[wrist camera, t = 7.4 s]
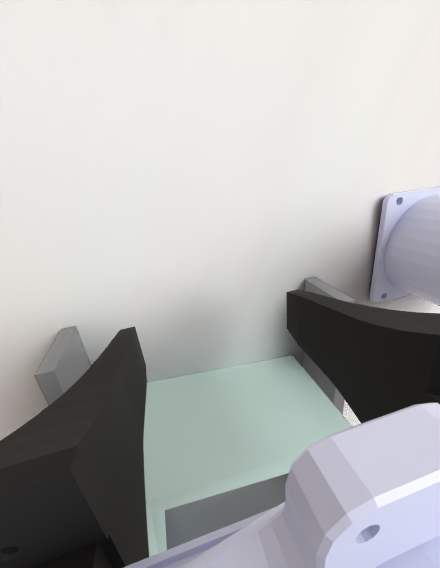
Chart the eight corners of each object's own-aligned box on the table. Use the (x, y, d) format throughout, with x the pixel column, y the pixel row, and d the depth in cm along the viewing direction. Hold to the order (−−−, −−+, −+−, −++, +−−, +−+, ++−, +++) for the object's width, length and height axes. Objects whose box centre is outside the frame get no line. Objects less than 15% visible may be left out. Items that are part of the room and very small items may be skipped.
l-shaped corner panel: (153, 492, 22) (156, 627, 16) (134, 383, 18) (127, 506, 11) (280, 457, 25) (329, 558, 18) (291, 354, 21) (362, 438, 14)
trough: (314, 276, 18) (356, 300, 15) (306, 459, 26) (332, 503, 22) (61, 329, 15) (34, 375, 12) (137, 519, 23) (135, 583, 19)
